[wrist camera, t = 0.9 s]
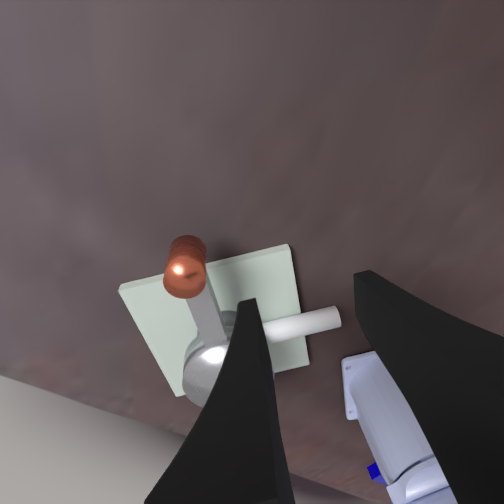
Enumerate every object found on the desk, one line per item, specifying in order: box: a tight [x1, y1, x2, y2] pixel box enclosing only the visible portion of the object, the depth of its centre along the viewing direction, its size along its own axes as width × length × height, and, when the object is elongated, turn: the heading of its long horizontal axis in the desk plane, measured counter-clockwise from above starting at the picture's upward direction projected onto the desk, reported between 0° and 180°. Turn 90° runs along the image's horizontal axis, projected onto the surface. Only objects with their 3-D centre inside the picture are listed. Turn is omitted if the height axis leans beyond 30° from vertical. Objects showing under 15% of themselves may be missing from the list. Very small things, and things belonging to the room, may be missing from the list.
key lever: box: [163, 235, 274, 407], centre depth 19 cm, size 13×6×3 cm, turn 12°
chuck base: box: [118, 244, 341, 397], centre depth 23 cm, size 12×14×3 cm
